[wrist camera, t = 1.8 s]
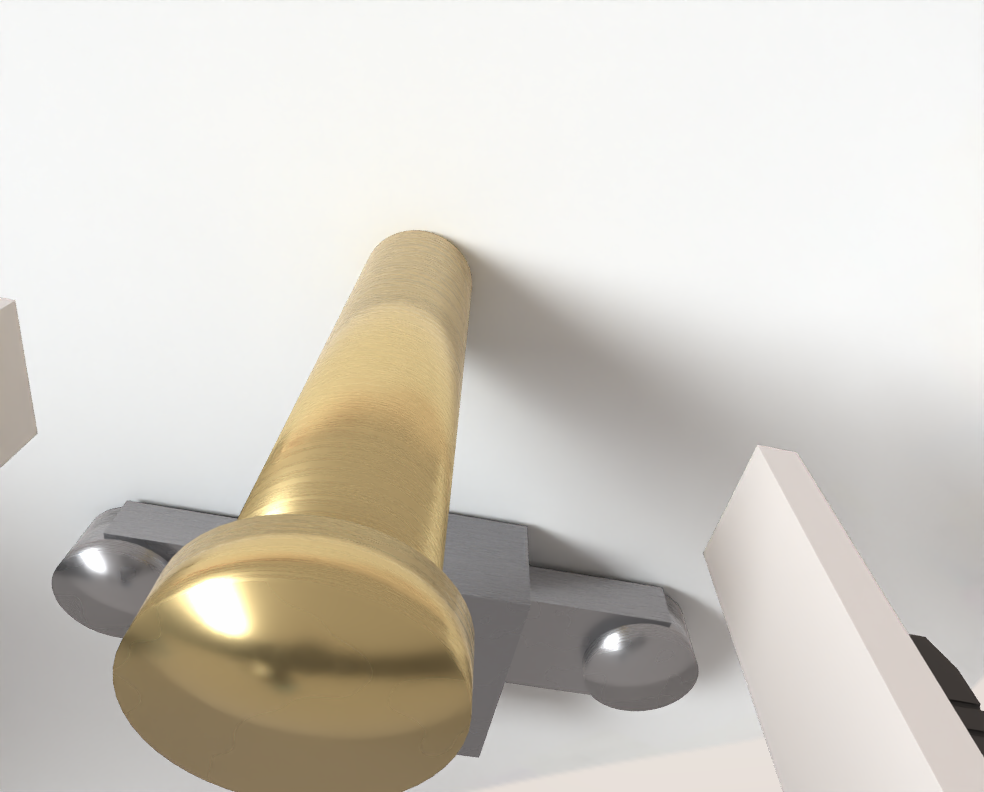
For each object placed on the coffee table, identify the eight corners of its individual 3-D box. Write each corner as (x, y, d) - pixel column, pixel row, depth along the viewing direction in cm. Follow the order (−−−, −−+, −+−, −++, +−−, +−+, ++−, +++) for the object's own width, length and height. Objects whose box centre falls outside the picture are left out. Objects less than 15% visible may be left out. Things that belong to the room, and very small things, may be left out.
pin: (339, 333, 20) (125, 782, 8) (353, 197, 18) (96, 551, 6) (475, 358, 20) (440, 822, 9) (503, 228, 18) (504, 615, 7)
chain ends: (97, 617, 26) (44, 699, 23) (75, 450, 22) (7, 523, 19) (647, 697, 28) (664, 782, 25) (719, 558, 24) (750, 640, 21)
